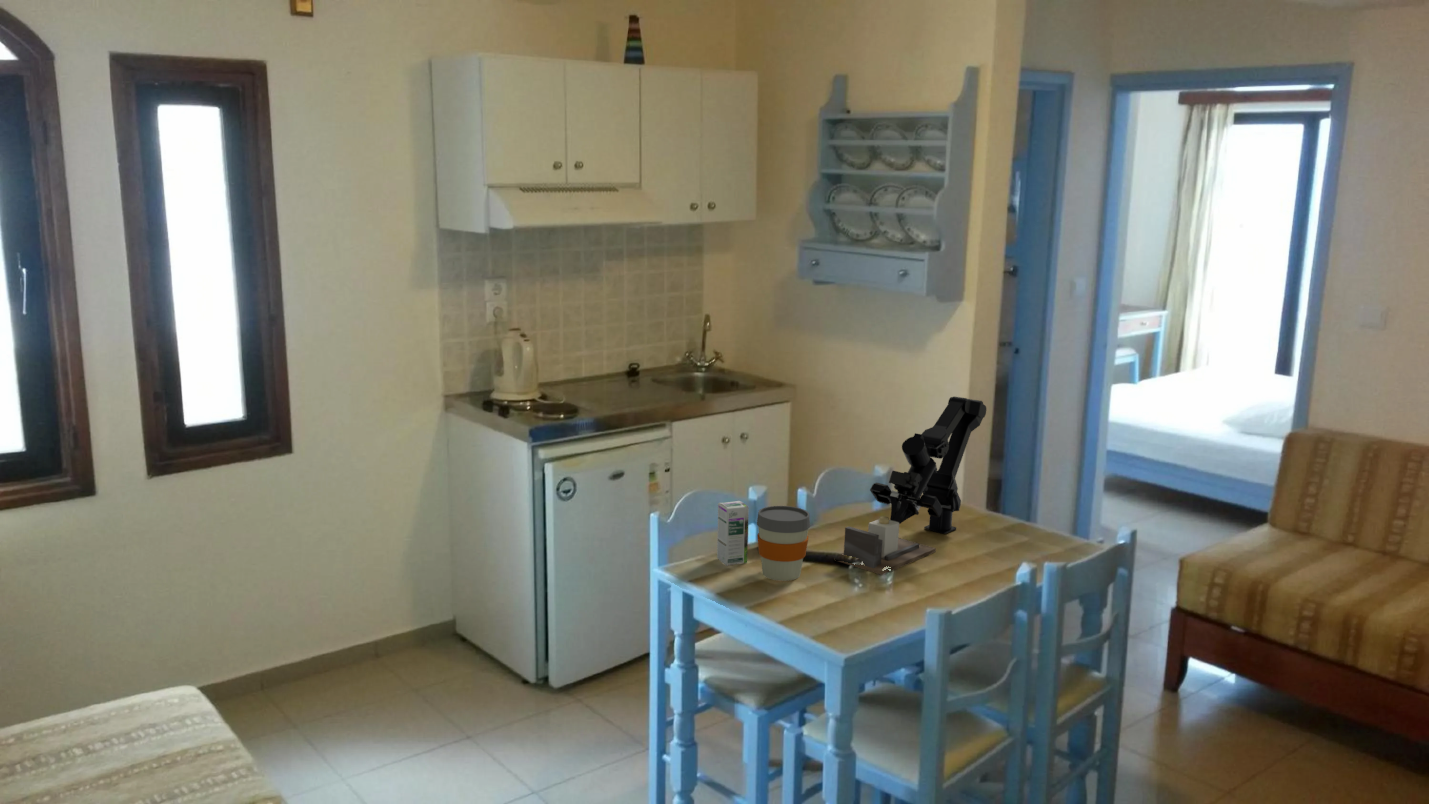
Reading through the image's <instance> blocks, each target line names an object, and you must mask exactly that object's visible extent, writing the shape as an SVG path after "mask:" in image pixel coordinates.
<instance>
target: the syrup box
mask: <svg viewBox="0 0 1429 804" xmlns="http://www.w3.org/2000/svg"><path fill="white" fill-rule="evenodd" d="M749 509H750V508H749V505H747V504H746V503H745V502H743V501H741V500H736V501H727V502H718V503H717V545H716V546H717V547H716V548H717V549H716V551H717V552H716V553H717V554H716V558H717V559H718V560H719V562H721V563H722V564H723V565H724V566H727V567H728V566H731V565H742V564H747V563H748V545H749V544H748V543H749V540H748V539H749Z"/></svg>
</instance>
